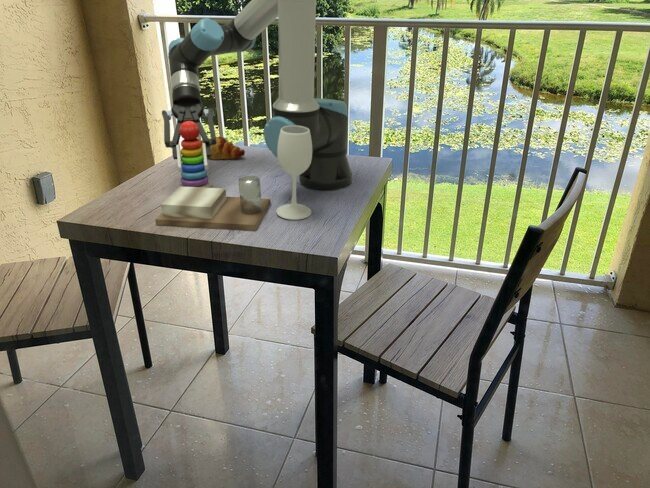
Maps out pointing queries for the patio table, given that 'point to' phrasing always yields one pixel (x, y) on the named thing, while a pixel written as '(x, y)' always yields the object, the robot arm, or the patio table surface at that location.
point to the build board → (221, 217)
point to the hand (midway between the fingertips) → (193, 168)
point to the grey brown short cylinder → (250, 195)
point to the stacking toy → (192, 157)
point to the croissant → (224, 150)
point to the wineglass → (294, 165)
